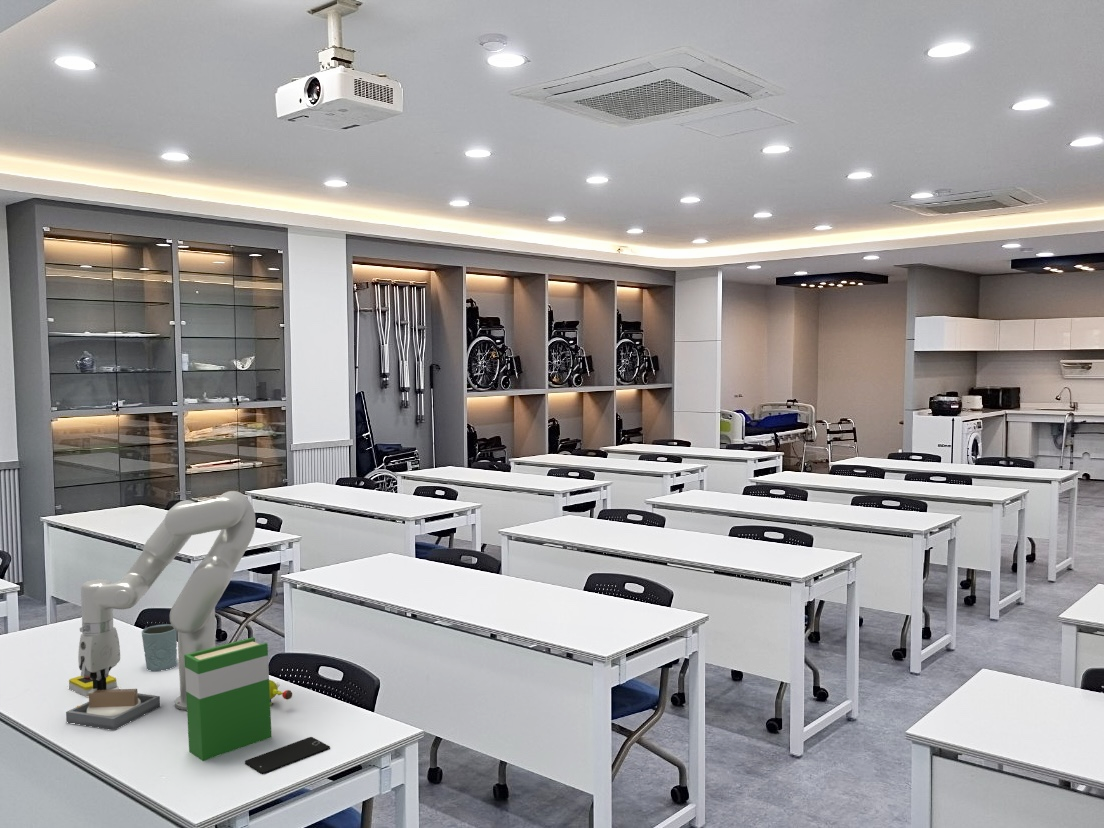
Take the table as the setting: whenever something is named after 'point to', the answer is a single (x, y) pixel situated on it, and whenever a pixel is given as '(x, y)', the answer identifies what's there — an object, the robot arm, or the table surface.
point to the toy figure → (274, 690)
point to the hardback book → (227, 697)
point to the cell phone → (286, 755)
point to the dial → (112, 701)
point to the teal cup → (160, 647)
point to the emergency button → (89, 684)
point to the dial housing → (112, 723)
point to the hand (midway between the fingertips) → (99, 692)
